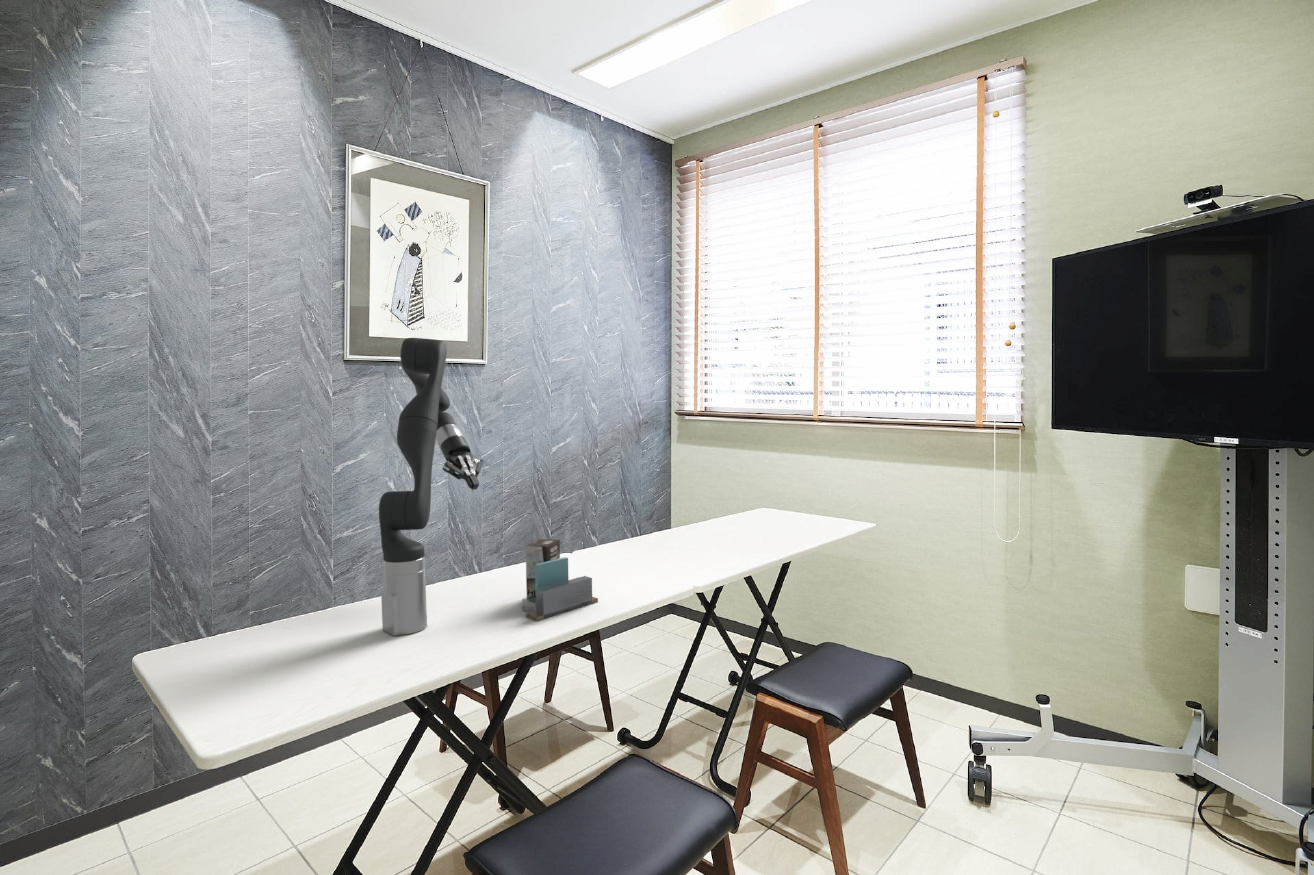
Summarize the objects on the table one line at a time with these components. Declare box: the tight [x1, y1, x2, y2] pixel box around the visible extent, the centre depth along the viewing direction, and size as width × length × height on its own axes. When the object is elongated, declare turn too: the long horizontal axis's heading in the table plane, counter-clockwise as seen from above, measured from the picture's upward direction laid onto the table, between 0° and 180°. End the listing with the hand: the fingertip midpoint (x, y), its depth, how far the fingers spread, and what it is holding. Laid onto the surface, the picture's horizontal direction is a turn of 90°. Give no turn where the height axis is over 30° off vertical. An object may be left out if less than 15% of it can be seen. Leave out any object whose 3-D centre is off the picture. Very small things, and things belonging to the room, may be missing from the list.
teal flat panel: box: [528, 556, 570, 600], centre depth 171 cm, size 13×1×10 cm, turn 137°
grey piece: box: [521, 575, 599, 622], centre depth 171 cm, size 20×10×7 cm, turn 137°
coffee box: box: [525, 538, 561, 599], centre depth 176 cm, size 9×6×16 cm
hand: (475, 487), depth 184 cm, fingers closed
